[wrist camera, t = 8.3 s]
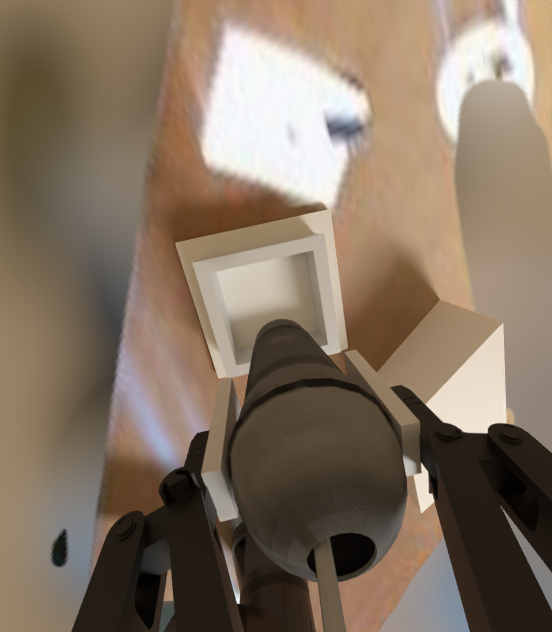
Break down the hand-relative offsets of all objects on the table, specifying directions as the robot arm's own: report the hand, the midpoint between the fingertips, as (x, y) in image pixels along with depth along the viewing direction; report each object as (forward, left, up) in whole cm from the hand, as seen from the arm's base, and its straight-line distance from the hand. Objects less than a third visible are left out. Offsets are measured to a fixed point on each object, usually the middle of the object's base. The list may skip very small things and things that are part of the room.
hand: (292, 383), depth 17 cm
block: (-20, -20, -22) cm, 36 cm away
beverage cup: (0, 0, -6) cm, 6 cm away
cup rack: (0, 0, -22) cm, 22 cm away
